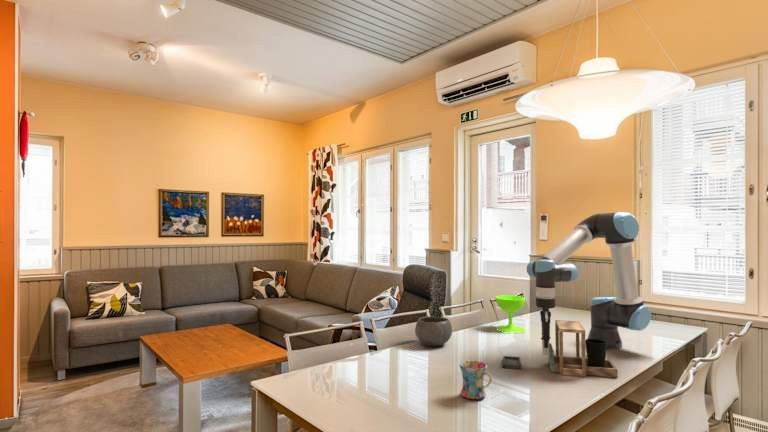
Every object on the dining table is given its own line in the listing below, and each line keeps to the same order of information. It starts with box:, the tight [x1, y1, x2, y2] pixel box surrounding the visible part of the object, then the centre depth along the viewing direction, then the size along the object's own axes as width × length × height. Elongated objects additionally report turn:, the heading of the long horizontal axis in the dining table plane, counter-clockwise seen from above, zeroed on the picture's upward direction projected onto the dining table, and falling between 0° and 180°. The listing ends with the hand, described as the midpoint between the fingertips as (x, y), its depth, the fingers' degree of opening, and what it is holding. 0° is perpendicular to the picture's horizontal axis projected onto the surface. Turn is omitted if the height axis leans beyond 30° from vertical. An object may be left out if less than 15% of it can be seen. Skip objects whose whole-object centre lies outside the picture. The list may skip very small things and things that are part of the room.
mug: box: [458, 360, 493, 400], centre depth 144 cm, size 12×9×11 cm
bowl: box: [414, 316, 453, 347], centre depth 209 cm, size 18×18×13 cm
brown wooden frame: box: [554, 319, 587, 378], centre depth 173 cm, size 9×16×18 cm, turn 164°
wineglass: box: [495, 295, 526, 333], centre depth 239 cm, size 16×16×18 cm
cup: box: [585, 338, 607, 368], centre depth 170 cm, size 8×8×12 cm
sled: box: [548, 342, 619, 378], centre depth 172 cm, size 24×12×8 cm, turn 74°
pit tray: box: [502, 355, 522, 370], centre depth 179 cm, size 7×12×2 cm, turn 163°
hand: (545, 355), depth 175 cm, fingers closed
